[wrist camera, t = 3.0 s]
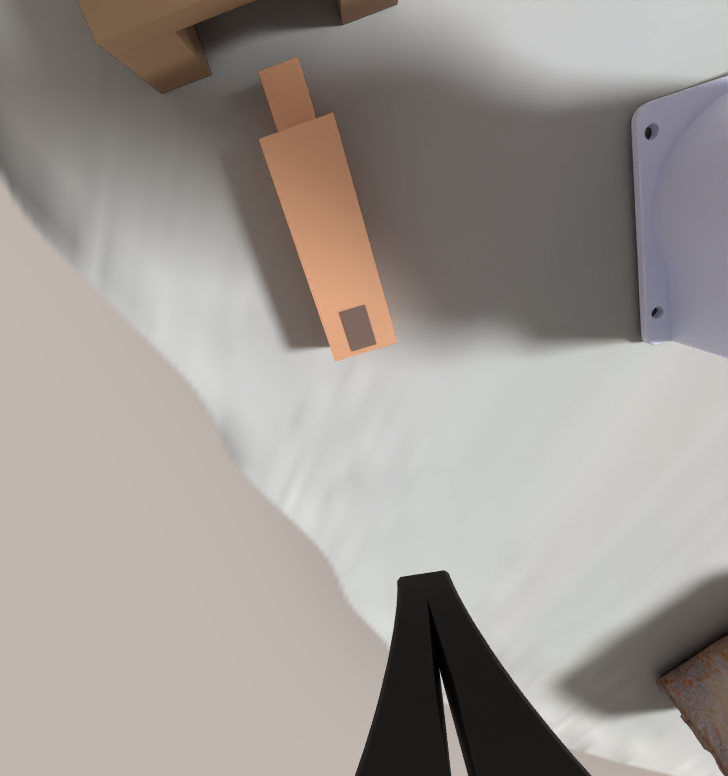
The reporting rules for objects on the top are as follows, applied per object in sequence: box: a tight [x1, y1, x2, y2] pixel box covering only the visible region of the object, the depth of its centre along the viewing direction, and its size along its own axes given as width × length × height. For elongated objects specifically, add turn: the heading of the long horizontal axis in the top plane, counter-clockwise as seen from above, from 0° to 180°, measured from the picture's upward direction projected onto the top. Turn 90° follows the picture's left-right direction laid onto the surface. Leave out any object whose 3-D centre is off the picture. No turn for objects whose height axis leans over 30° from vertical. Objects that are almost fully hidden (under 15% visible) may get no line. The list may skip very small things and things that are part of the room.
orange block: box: [258, 57, 397, 361], centre depth 15 cm, size 10×3×2 cm, turn 17°
